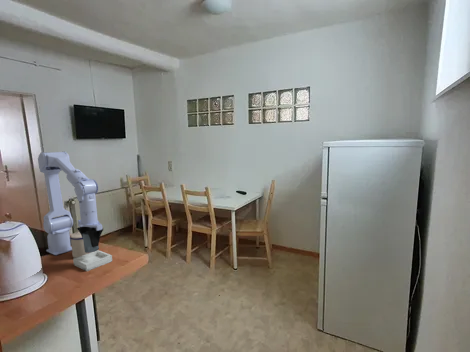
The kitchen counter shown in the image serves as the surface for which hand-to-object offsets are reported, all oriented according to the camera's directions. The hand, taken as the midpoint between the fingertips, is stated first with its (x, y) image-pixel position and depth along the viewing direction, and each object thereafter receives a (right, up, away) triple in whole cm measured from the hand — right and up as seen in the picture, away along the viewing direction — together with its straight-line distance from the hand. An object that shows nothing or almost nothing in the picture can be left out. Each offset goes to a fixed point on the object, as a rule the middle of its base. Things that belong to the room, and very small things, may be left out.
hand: (91, 245), depth 104 cm
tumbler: (0, -2, 0) cm, 2 cm away
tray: (0, -7, +1) cm, 8 cm away
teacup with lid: (-9, -7, +11) cm, 16 cm away
